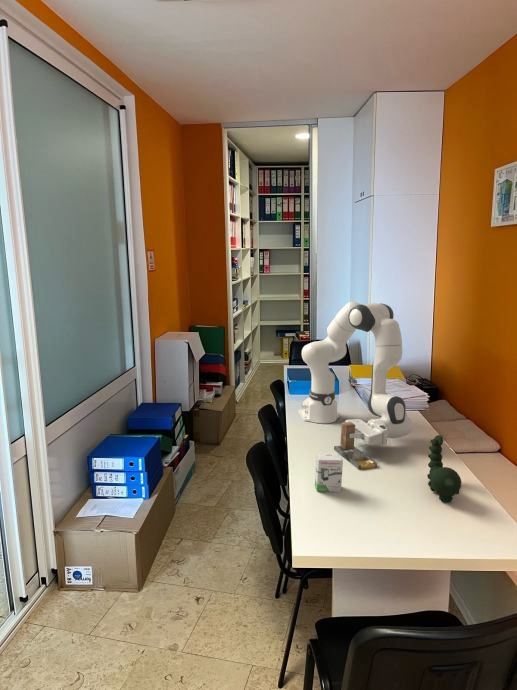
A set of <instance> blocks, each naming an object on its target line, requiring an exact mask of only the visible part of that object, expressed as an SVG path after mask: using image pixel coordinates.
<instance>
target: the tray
mask: <svg viewBox="0 0 517 690" xmlns="http://www.w3.org/2000/svg"><path fill="white" fill-rule="evenodd" d="M333 450H334V451H335V452H336V454H339V455H341V457H342V458H344V459H345V460H346V461H347V462H349V463H350V464H351V465H352V466H353V467H355V468H356V470H366V469H373V468H378V462H376V461H375V460H373V458H370V457H369V456H368V455H367V454H365V453H364V452H363V451H362V450H360V449H358V448H357V447H356V446H355V445H354V448H352V449H350V450H351V451H344V450H345V449H344V448H343V447H341V446H340V445H334V446H333Z"/></svg>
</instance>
